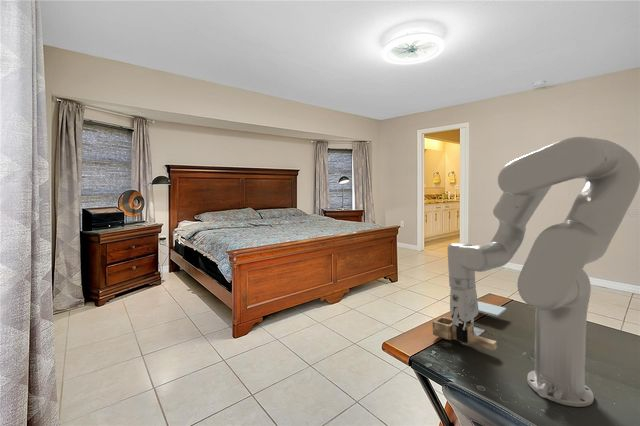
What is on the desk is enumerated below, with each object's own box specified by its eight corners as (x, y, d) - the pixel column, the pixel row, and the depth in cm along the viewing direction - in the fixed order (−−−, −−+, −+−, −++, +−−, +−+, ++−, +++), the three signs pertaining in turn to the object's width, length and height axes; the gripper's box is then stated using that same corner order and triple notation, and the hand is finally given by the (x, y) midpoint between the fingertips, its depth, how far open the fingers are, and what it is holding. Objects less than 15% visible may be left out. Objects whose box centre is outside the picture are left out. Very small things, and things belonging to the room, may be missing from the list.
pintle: (476, 337, 99) (476, 323, 98) (455, 330, 104) (455, 316, 104) (485, 330, 103) (485, 316, 103) (464, 324, 108) (464, 311, 108)
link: (433, 334, 99) (432, 320, 99) (441, 329, 103) (441, 314, 103) (491, 353, 85) (490, 335, 85) (499, 345, 89) (498, 329, 89)
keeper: (497, 325, 106) (497, 315, 106) (466, 316, 115) (466, 306, 115) (506, 318, 112) (506, 308, 112) (476, 310, 121) (475, 300, 120)
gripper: (462, 290, 85) (465, 352, 86) (485, 278, 96) (487, 334, 96) (437, 285, 91) (440, 344, 91) (461, 275, 102) (464, 328, 102)
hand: (464, 338), depth 94 cm, fingers closed on link, 3 cm apart
